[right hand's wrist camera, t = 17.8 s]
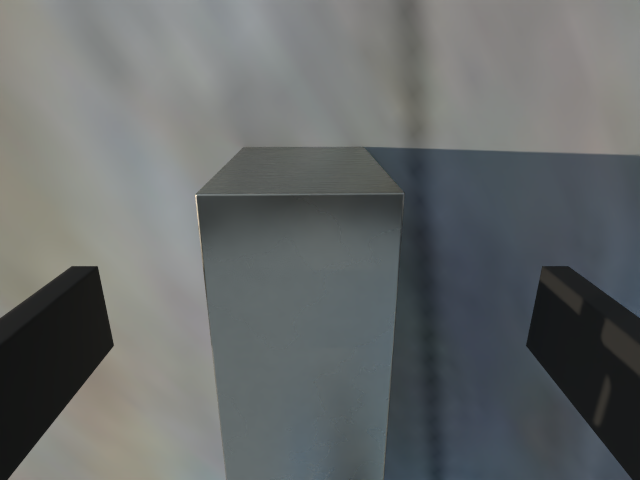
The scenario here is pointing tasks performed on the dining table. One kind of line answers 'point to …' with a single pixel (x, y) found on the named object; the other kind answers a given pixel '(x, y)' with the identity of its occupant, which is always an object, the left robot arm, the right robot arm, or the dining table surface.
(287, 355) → the box
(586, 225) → the dining table surface
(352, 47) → the dining table surface
